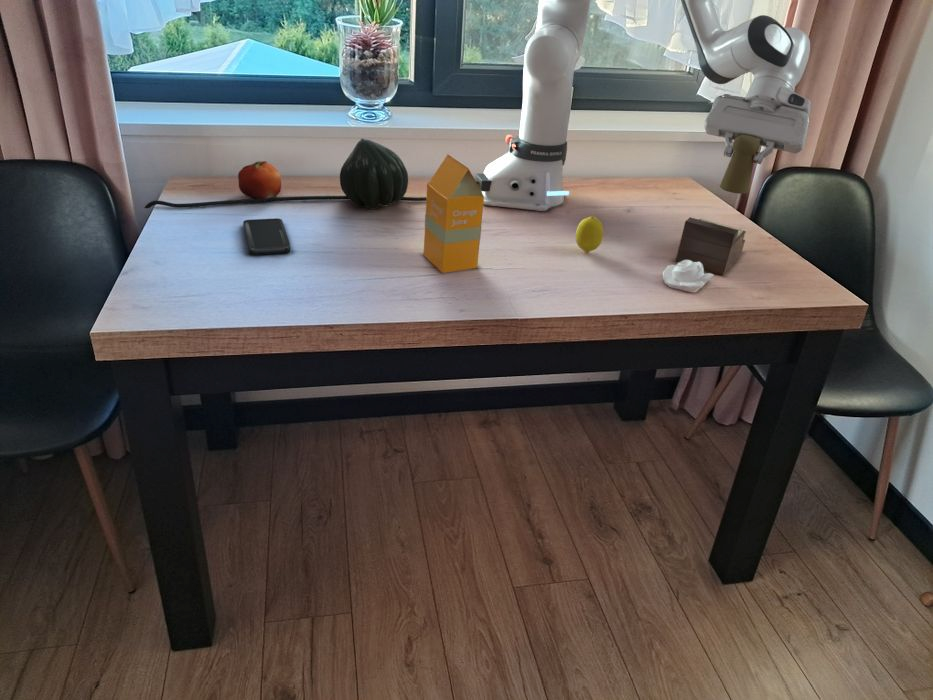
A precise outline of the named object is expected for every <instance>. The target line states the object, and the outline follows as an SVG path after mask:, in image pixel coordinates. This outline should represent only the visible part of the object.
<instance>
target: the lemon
mask: <svg viewBox="0 0 933 700" xmlns="http://www.w3.org/2000/svg"><path fill="white" fill-rule="evenodd" d="M603 238H604V226H603V224H602V222H601V221H600V220H599V218H596V217H595V216H594V215H591V216H588V217H585V218H584V219H582V220H581V221H580V222H579V223H578V226H577V228H576V232H575V242H576V244H577V246H578V248H579V249H581V250H583V252H584V254H585V253H586V254H587V253H590V252H592V251H595V250H596V249H598V248H599V247H600V245H601V244H602V242H603Z"/></svg>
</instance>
